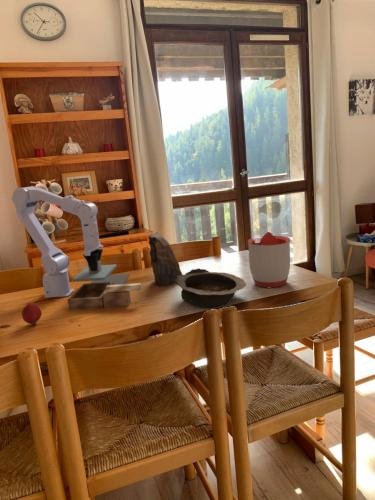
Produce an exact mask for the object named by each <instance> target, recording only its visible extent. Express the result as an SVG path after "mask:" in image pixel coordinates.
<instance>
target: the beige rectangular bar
mask: <svg viewBox="0 0 375 500" xmlns="http://www.w3.org/2000/svg"><path fill="white" fill-rule="evenodd" d="M141 290H142V284H141V283H140V282H138V283H124V284H119V285H107V286H106V292H122V291H130V292H136V291H137V292H138V291H141Z"/></svg>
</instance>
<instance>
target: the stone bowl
mask: <svg viewBox="0 0 375 500" xmlns="http://www.w3.org/2000/svg"><path fill="white" fill-rule="evenodd" d="M174 281H175V283H174V284H176V286H177V285H178V286H179V287H180V289H181V293H180V294H181V299H182V300H183V301H190V302H192V303H193V304H194V306H195V307H197V308H201V309H206V308H215V307H217V306H223V305H224V306H225V305H228V304H229V303H230V302H231V301H232V300H233V297H234V296H235V293H237V292H239V291H241V290H242V289H244V288H246V286H247V282H245V280H244V279H243V278H242V277H239V276H236V275H234V274H232V273H227V272H219V271H218V272H217V271H212V272H211V271H209V270H206V269H205V268H195V269H193V268H192V269H190V271H188V272H186V273H185V274H183V275H177V277H176V278H174Z"/></svg>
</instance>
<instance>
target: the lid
mask: <svg viewBox="0 0 375 500" xmlns="http://www.w3.org/2000/svg"><path fill="white" fill-rule="evenodd" d="M117 267H118V265H117V263H115V264H114V263H113V264H102V262H101V259H100V260H97V271H91V269H90V267H89V264H88V263H87V266H86V267H85V268H84V269H82V270H81V271H80V272H79V273H77V275H75V276H74V277H73V278H72V279H71V281H72V283H77V282H92V281H97V280H105V279H106V278H107V277H108V276H109V275H112V272H114V270H115V269H116V268H117Z"/></svg>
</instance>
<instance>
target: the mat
mask: <svg viewBox="0 0 375 500" xmlns="http://www.w3.org/2000/svg"><path fill="white" fill-rule="evenodd" d="M130 276H131V274H130V273H123V274H121V273H120V274H119V273H118V274H110V275H109V276H108V277H107V278H106V279H105V280H97V281H90V283H105V282H114V285H119V284H126V281H127V280H128V278H129V277H130Z"/></svg>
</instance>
